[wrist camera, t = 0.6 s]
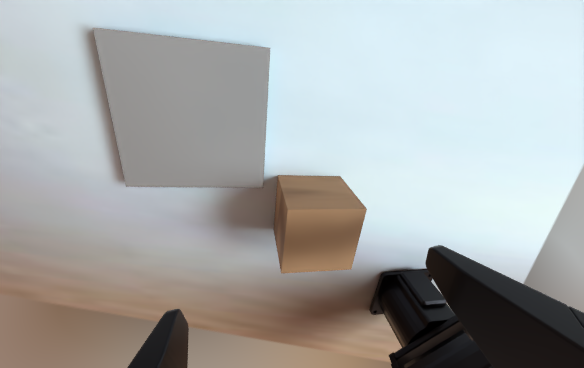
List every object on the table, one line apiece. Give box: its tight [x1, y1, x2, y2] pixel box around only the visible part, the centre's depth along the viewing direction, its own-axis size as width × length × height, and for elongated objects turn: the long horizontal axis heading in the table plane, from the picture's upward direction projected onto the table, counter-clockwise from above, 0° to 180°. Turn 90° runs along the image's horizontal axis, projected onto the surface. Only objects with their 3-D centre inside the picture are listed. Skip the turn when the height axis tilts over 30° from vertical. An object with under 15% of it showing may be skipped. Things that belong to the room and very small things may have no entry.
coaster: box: [93, 28, 270, 188], centre depth 18 cm, size 10×10×1 cm
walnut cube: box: [274, 175, 367, 273], centre depth 20 cm, size 6×6×6 cm
